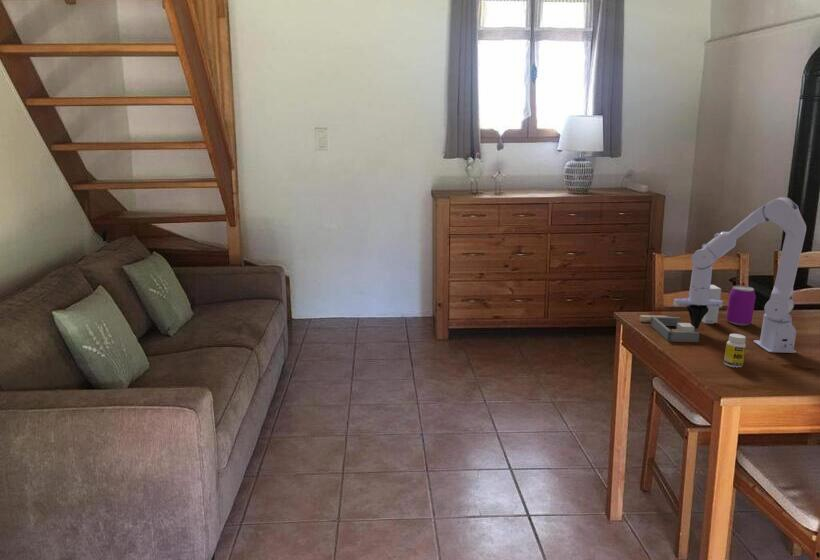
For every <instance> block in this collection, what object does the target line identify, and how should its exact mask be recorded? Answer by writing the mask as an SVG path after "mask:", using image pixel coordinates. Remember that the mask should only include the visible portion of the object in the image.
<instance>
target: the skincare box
mask: <svg viewBox="0 0 820 560" xmlns="http://www.w3.org/2000/svg"><path fill="white" fill-rule="evenodd" d="M721 294H722V288H720V287H719V286H717V285H716V284H710V292H709V299H714V300H721V296H722V295H721ZM707 308H708V312H707V313H706V314H705V316H704V317H703V319H702V321H701V323H704V324H714V323H716V324H717V323H718V318H719V310H720V307H711V306H707Z"/></svg>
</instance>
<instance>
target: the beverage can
mask: <svg viewBox="0 0 820 560" xmlns="http://www.w3.org/2000/svg"><path fill="white" fill-rule="evenodd" d="M756 298H757V296H756V292H755V288H754V287H751V286H747V285H733V286H732V289H731V290H730V292H729V296H728V303H727V304H728V305H727V309H726V316H725V317H726V318H725V320H726V321H727V322H728V323H729V324H731V325H736V326H744V327H745V326H748V325H750V324H752V321H753V317H754V316H753V315H754V310H755V302H756Z"/></svg>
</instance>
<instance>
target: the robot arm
mask: <svg viewBox="0 0 820 560" xmlns="http://www.w3.org/2000/svg"><path fill="white" fill-rule="evenodd" d="M799 208H800V207H799V205H798V204H797V203H795V202H794V201H793V200H792V199H791V198H790V197H786V196H780V197H777V198H775V199H771V200H769V201H768V202H767V203H766V204H764V205H762V206H760V207H758V208H757V209H756V210H754V211H752V212H751V213H750V214H749V215H748V216H746V217H745V218H744V219H742V220H741V221H740V222H739V223H737V224H736V226H734V227H733V228H732V229H731V230H729V231H721V232H717V233H715V234H714V235H713V238H712V239H711V240H710V241H708V242H707V243H703V244H702V245H701V249H697V250H695V251H694V253H692V256H691V264H692V272H691V276H690V277H691V278H690V283H689V284H690V285H689V292H688V297H684V298H674V299H673V303H672V304H673V306H675V307H679V306H680V307H683V306H685V307H686V309H687V311H688V314H689V318H690V324H691V325H693V326H694V327H695V328H694V330H698V329H699V326H700V325H701V323H702V319H703V317H704V316H705V314H706V313H707V312H708V308H707V306H711V307H719V308H723V303H724V301H723V300H721V299H720V300H714V299H709V292H710V285H712V274H713V267H714V264H715V263H716V261H717V260H719V259H720V258H722V257H723V256H724V255H725V254H727V253H728V252H729V251H731V250H732V249H733V248H735V247H736V245H737V240H738V239H739V238H740V237H742V236H743V235H744V234H746V233H747V232H748V231H750V230H751V229H753V228H754V227H756V226H757V225H758V224H762V223H768V222H769V221H770V222H773V223H774V224H777V225H778V226H779V227H780V229H782V231H783V232H784V233H785V236H784V241H783V243H782V244H783V245H782V249H781V253H780V259H779V262H778V263H779V264H778V267H777V271H776V277H775V282H774V285H773V287H772V288H773V289H772V291H771V293H770V297H769V299H768V301H767V302H766V303H765V305H764V307H763V309H764V311H763V312H764V314H763V318H762V319H763V320H762V325H761V331H760V338H759V340H758V339H757V340H756V339H755V340H753V343H754V344H756V345H757V346H760V347H761V348H762V349H764V350H765V351H766V352H767V353H786V354H787V353H788V354H789V353H790V354H796V353H797V351H796V349H794V348H795V344H796V343H795V342H796V336H797V330H796V327H795V326H794V325H793V324H792V319H793V317H792V316H791V314H790V312H792V311H793V309H794V306H795V301H794V298H793V295H794V285H795V281H796V277H797V272H798V267H799V263H800V259H801V254H802V251H803V246H804V242H805V239H806V238H805V237H806V233H807V225H806V221H805V220H804V218H803V216H802V214H801V212H800V209H799Z"/></svg>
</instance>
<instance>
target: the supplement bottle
mask: <svg viewBox="0 0 820 560" xmlns="http://www.w3.org/2000/svg"><path fill="white" fill-rule="evenodd" d="M746 339H747V337H746V336H745V335H743V334H739V333H730V334H729V336H728V341H726V345H725V352H724V359H723V364H724V365H725V366H728V367H730V368H735V367H736V368H737V369H738V367H739V368H742V367H743V366H744V362H745V361H744V360H745V353H746V347H747V344H746ZM736 368H735V369H736Z"/></svg>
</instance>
